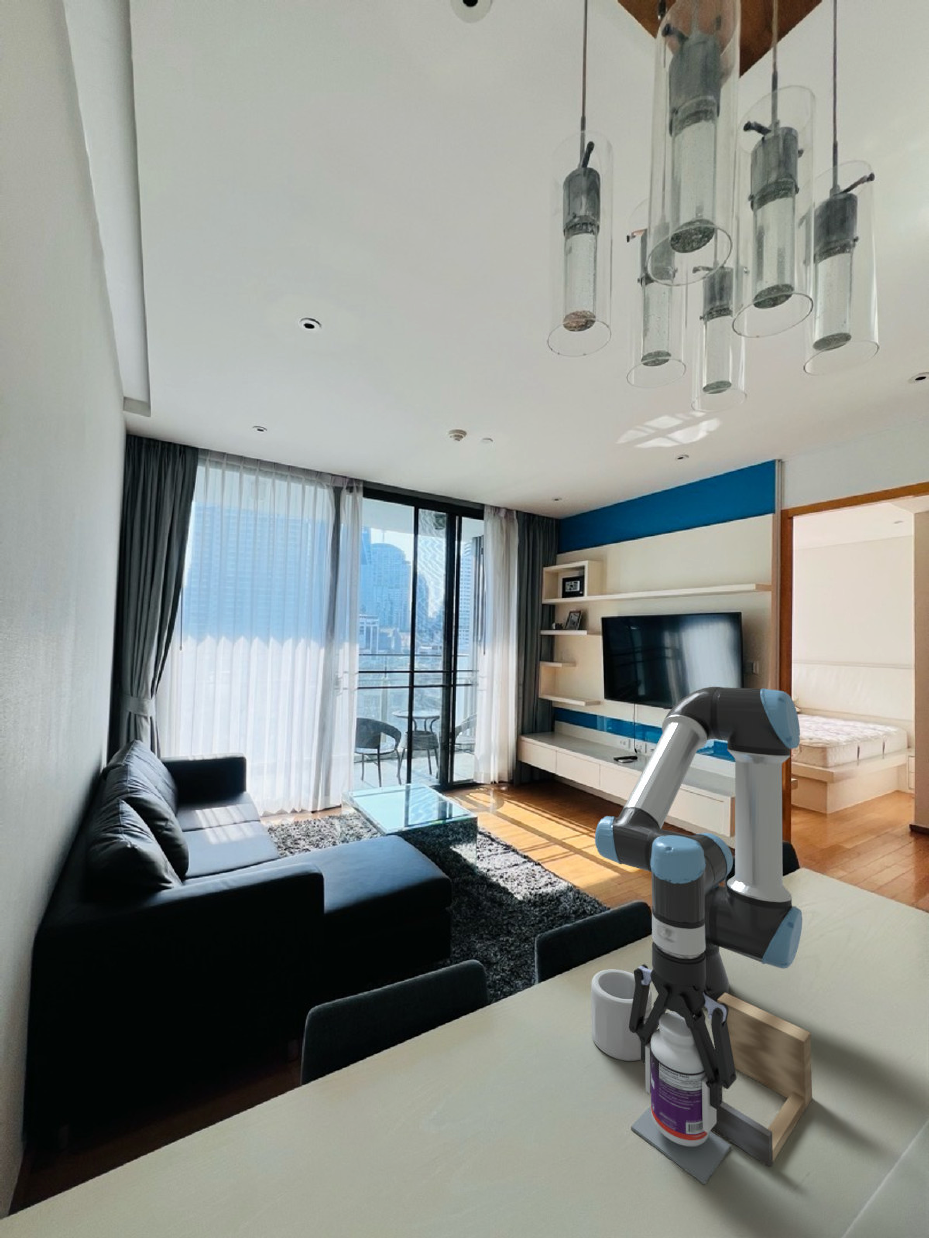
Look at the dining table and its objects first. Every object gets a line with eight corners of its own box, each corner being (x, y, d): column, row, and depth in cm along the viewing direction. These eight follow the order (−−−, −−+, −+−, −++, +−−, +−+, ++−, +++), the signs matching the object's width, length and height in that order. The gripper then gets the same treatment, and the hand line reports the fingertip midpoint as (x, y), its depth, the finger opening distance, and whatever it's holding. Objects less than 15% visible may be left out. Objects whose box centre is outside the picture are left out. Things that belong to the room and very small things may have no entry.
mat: (630, 1128, 80) (630, 1126, 80) (659, 1099, 85) (659, 1096, 85) (704, 1184, 71) (704, 1181, 72) (730, 1147, 77) (730, 1144, 77)
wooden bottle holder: (676, 1104, 84) (675, 1037, 85) (725, 1050, 96) (725, 992, 97) (769, 1167, 74) (768, 1090, 75) (812, 1097, 86) (810, 1032, 87)
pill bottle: (662, 1094, 84) (661, 999, 85) (716, 1123, 79) (714, 1021, 80) (642, 1129, 78) (642, 1025, 79) (700, 1162, 73) (699, 1051, 74)
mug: (635, 1072, 91) (635, 1011, 91) (580, 1040, 98) (580, 983, 99) (668, 1033, 100) (667, 978, 101) (615, 1007, 108) (615, 955, 109)
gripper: (604, 926, 86) (604, 1076, 84) (740, 988, 70) (743, 1174, 68) (630, 912, 91) (630, 1053, 89) (762, 967, 75) (766, 1140, 73)
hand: (679, 1105), depth 79 cm, fingers open, 8 cm apart
